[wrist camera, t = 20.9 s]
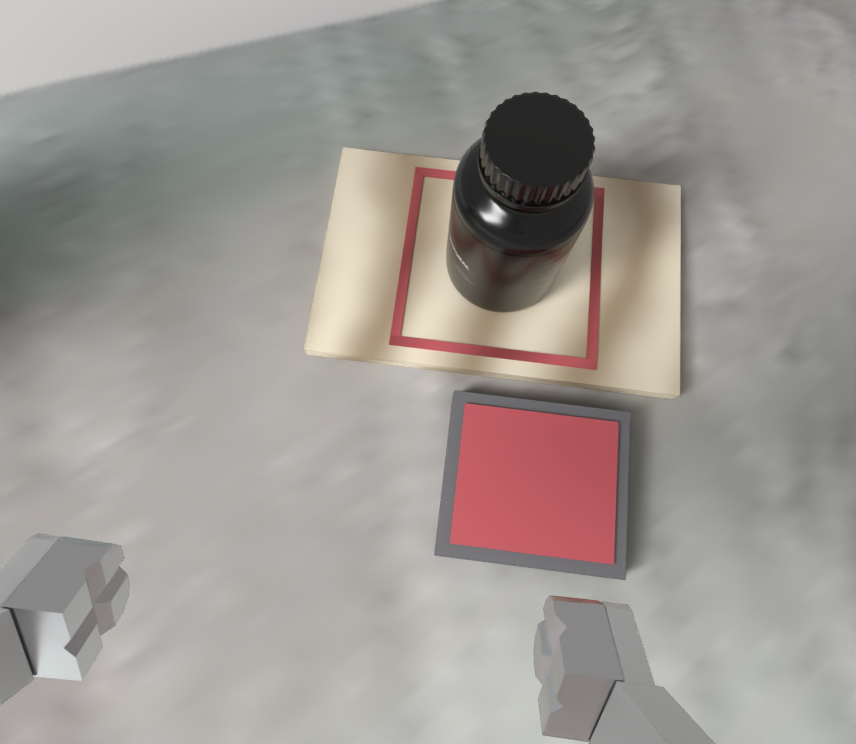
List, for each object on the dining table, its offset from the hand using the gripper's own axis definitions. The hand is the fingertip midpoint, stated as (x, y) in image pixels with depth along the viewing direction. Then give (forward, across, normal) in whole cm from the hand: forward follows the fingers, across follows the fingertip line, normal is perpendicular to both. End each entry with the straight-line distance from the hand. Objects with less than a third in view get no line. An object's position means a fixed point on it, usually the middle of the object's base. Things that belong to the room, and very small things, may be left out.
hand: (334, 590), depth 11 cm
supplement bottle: (+27, -5, +2) cm, 28 cm away
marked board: (+28, -5, +3) cm, 29 cm away
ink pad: (+19, -8, +12) cm, 23 cm away
